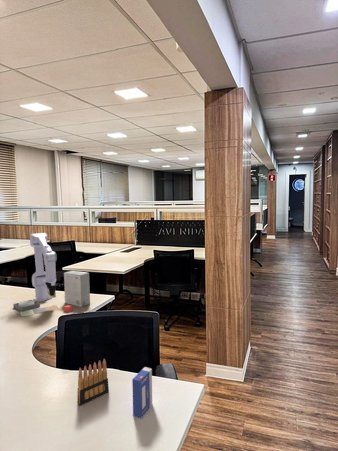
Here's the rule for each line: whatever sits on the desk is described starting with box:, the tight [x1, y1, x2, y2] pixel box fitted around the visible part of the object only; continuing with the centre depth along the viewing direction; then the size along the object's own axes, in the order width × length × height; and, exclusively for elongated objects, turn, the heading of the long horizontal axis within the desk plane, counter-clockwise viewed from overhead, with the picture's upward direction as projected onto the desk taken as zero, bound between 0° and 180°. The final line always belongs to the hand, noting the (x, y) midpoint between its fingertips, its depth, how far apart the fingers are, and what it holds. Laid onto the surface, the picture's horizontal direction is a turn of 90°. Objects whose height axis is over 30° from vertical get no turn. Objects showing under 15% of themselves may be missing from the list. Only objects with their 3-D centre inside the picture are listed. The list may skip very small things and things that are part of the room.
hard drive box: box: [63, 270, 91, 308], centre depth 204 cm, size 16×8×20 cm, turn 58°
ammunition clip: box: [76, 358, 110, 407], centre depth 107 cm, size 11×2×12 cm, turn 132°
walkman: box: [131, 366, 153, 419], centre depth 100 cm, size 8×3×12 cm, turn 155°
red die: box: [63, 304, 73, 313], centre depth 190 cm, size 3×3×3 cm
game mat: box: [19, 304, 60, 317], centre depth 192 cm, size 21×9×1 cm, turn 120°
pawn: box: [47, 288, 57, 299], centre depth 194 cm, size 4×4×5 cm
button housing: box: [12, 299, 41, 312], centre depth 198 cm, size 11×11×2 cm
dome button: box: [17, 299, 35, 307], centre depth 198 cm, size 9×9×2 cm
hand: (51, 294), depth 195 cm, fingers closed on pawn, 4 cm apart
